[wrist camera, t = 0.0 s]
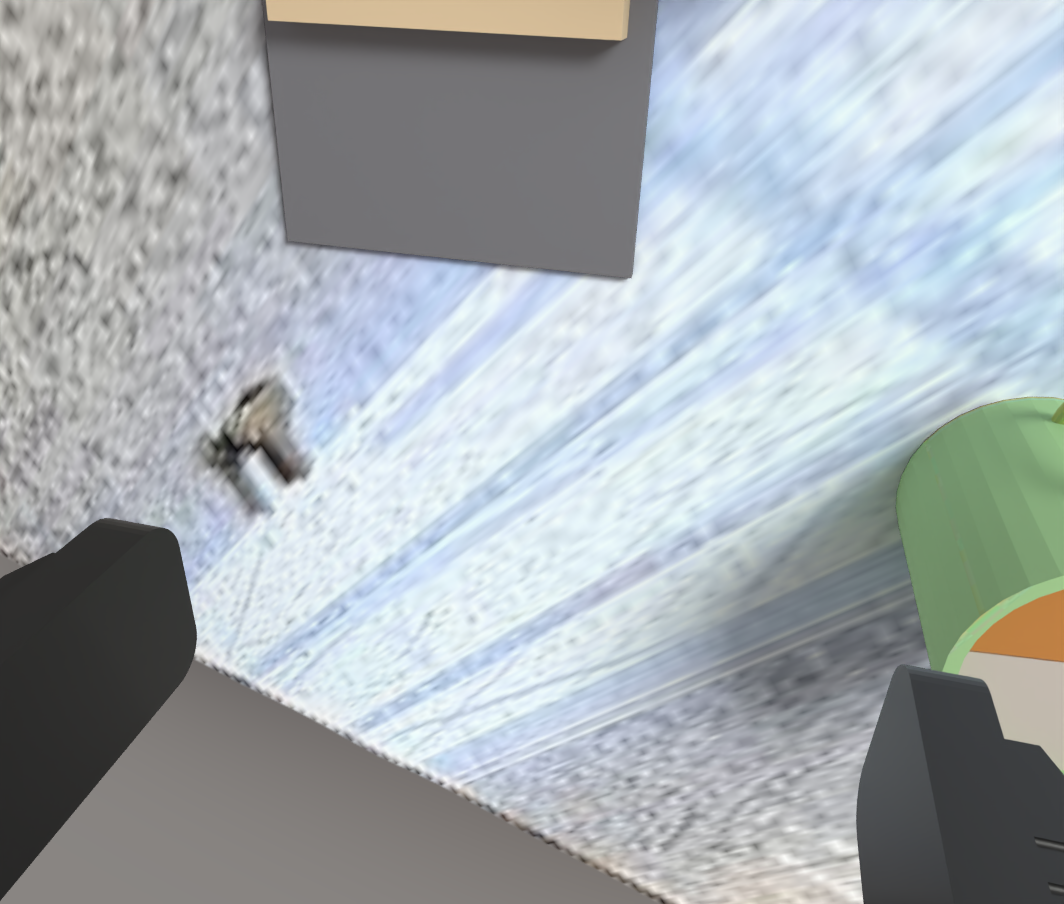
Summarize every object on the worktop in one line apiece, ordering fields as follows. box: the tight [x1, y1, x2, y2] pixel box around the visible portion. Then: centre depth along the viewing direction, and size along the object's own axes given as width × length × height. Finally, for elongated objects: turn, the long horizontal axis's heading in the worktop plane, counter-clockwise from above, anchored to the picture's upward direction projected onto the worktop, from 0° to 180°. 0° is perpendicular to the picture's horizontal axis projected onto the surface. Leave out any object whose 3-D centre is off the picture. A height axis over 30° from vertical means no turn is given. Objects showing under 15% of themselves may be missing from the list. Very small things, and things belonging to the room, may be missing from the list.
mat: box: [262, 0, 658, 278], centre depth 34 cm, size 18×16×2 cm
